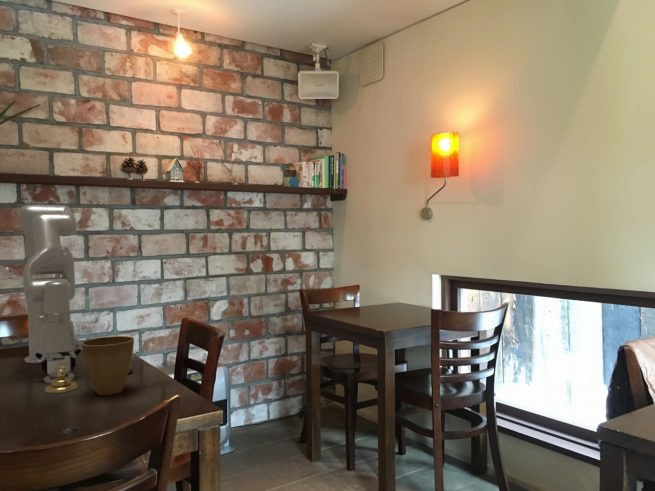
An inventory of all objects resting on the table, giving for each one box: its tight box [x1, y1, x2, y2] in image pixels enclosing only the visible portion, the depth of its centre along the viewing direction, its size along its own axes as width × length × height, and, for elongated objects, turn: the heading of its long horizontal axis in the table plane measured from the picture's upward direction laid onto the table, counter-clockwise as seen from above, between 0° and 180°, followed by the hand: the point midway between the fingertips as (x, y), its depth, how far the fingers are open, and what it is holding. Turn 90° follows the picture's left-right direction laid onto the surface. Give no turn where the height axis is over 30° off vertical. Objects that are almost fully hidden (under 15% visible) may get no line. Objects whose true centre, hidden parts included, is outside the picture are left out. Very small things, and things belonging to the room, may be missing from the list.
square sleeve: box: [47, 355, 71, 375], centre depth 177 cm, size 6×6×4 cm
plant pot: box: [81, 335, 135, 396], centre depth 162 cm, size 15×15×16 cm
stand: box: [43, 372, 75, 384], centre depth 177 cm, size 9×9×6 cm
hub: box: [44, 368, 78, 394], centre depth 166 cm, size 9×9×6 cm
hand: (59, 370), depth 177 cm, fingers open, 7 cm apart
